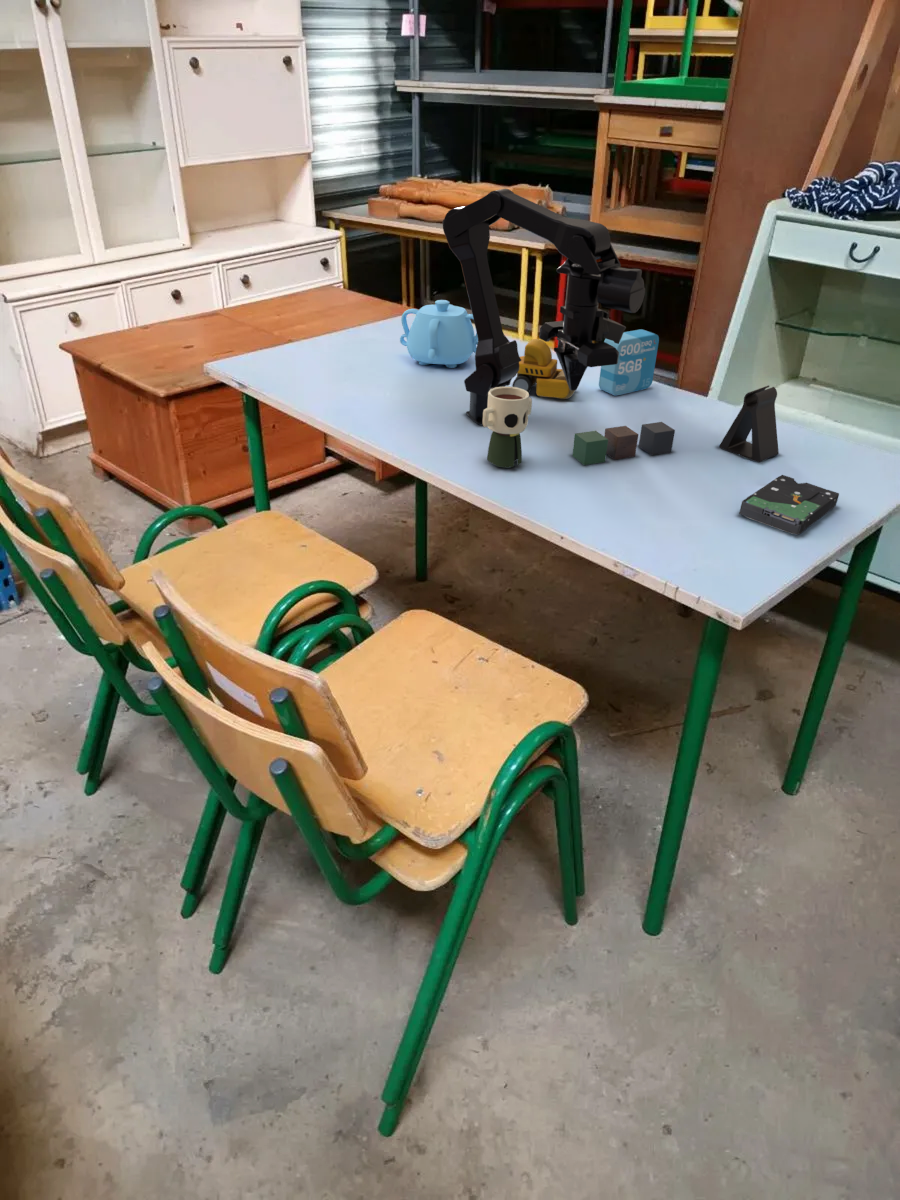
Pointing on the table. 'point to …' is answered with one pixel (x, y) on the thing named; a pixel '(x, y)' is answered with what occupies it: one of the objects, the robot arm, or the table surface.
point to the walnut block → (621, 442)
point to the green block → (590, 447)
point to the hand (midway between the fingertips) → (573, 389)
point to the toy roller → (541, 372)
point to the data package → (631, 363)
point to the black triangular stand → (754, 427)
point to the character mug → (506, 424)
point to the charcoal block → (656, 438)
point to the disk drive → (788, 504)
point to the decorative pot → (439, 334)
